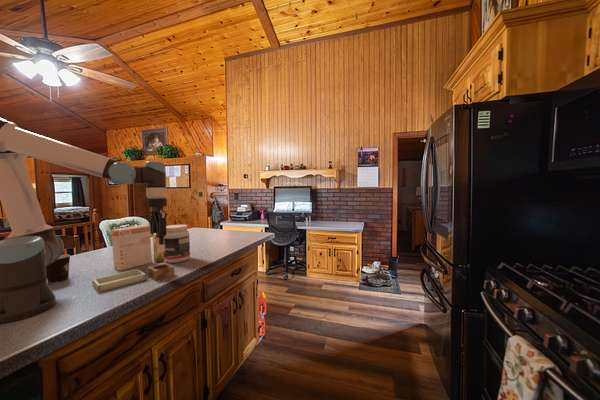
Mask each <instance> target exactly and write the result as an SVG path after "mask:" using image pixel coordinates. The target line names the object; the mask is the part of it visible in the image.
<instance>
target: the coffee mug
mask: <svg viewBox="0 0 600 400" xmlns="http://www.w3.org/2000/svg"><path fill="white" fill-rule="evenodd" d="M70 257H71V254H61V255H60V257H59V258H58V259H57V260H56V261H55V262H53V263H51V264H50V265H48V266H46V277H47V283H48V284H54V283H55V284H56V283H59V282H63V281H66V280H68V279H69V274H70V273H69V272H70V262H71V261H70V260H71V259H70Z"/></svg>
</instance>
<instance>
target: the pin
mask: <svg viewBox="0 0 600 400" xmlns="http://www.w3.org/2000/svg"><path fill="white" fill-rule="evenodd" d="M156 236H158V234H157V233H153V235H152V246H153V245H154V251H153V263H154V264H155V265H160V264H164V263H166V262H165V258H164V252H157V238H156Z"/></svg>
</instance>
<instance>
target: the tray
mask: <svg viewBox="0 0 600 400" xmlns="http://www.w3.org/2000/svg"><path fill="white" fill-rule="evenodd" d="M143 281H147V274H146V273H145V272H143V271H142V270H140V269H139V268H135V269H131V270H126V271H123V272H117V273H114V274H108V275H105V276H100V277H95V278H92V279H91V284H92V287H93V288H94V289H95V290H96V291H97V292H98V293H102V292H104V291H109V290H113V289H117V288H119V287H121V288H122V287H123V286H124V287H125V286H128V285H130V284H131V285H132V284H135V283H139V282H143Z"/></svg>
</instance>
